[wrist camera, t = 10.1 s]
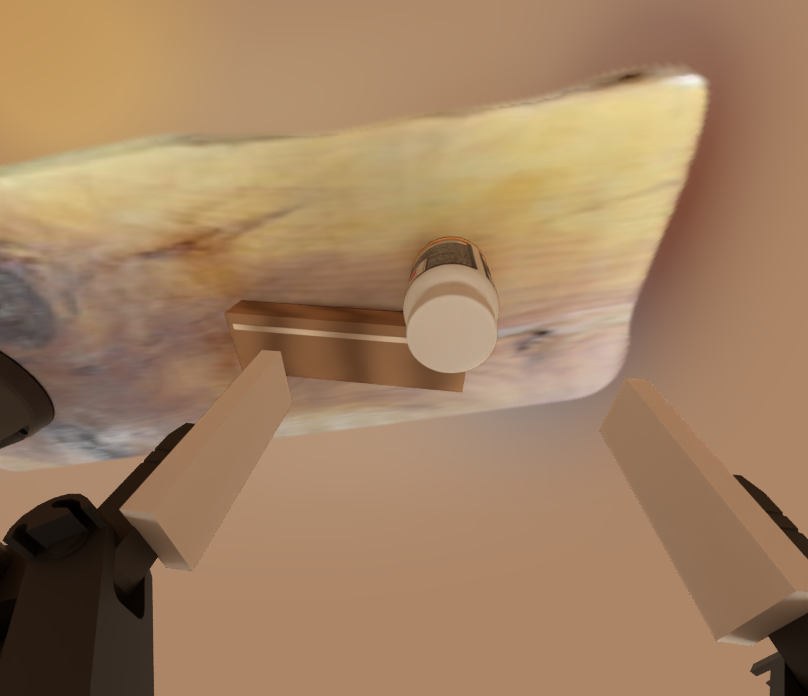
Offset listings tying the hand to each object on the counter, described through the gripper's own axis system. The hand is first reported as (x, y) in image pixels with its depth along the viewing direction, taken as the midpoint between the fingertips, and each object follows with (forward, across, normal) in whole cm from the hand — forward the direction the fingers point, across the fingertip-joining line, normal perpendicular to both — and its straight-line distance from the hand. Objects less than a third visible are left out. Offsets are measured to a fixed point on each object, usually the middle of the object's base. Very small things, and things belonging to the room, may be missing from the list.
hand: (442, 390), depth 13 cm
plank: (+14, -8, -7) cm, 17 cm away
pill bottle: (+14, 0, 0) cm, 14 cm away
